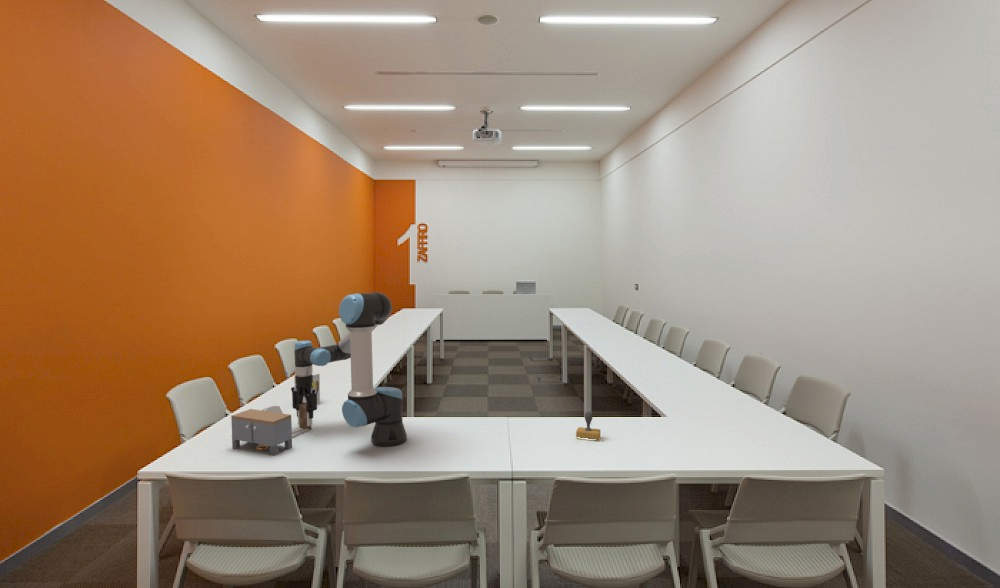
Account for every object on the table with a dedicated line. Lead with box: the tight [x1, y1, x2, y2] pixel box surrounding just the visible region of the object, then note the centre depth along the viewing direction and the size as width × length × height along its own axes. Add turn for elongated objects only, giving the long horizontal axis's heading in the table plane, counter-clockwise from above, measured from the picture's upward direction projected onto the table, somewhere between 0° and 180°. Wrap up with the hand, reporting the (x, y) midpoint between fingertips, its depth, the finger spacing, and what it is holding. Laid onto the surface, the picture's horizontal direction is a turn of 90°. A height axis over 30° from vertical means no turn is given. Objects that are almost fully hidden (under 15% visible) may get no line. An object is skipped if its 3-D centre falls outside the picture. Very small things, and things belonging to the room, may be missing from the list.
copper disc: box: [255, 444, 269, 451], centre depth 219 cm, size 4×4×1 cm
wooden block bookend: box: [281, 402, 312, 444], centre depth 234 cm, size 6×20×12 cm, turn 159°
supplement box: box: [293, 372, 321, 405], centre depth 281 cm, size 10×9×17 cm
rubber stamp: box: [575, 411, 601, 441], centre depth 232 cm, size 10×6×12 cm, turn 72°
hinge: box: [261, 405, 284, 414], centre depth 247 cm, size 17×5×10 cm, turn 171°
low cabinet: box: [230, 408, 293, 457], centre depth 218 cm, size 22×11×14 cm, turn 69°
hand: (305, 424), depth 243 cm, fingers open, 4 cm apart
